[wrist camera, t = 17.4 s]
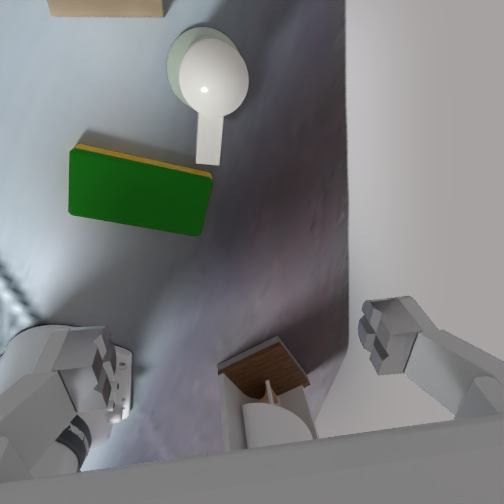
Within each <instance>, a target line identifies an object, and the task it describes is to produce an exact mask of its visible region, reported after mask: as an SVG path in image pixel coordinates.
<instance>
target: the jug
mask: <svg viewBox="0 0 504 504" xmlns="http://www.w3.org/2000/svg"><path fill="white" fill-rule="evenodd" d="M179 83H180V88H181V91H182V94H183V96H184V98H185V100H186V101H187V103H188V104H189V105H190V106H191V107H192V108H193V109H194V110H195V111H197V112H198V117H197V135H196V163H197V164H208V165H219V162H220V151H221V141H222V130H223V119H224V116H225V115H228V114H230V113H232V112H233V111H235V110H236V109H237V108H238V107H239V106H240V105H241V103H242V102H243V100H244V99H245V96H246V94H247V91H248V85H249V76H248V70H247V67H246V64H245V62H244V60H243V58H242V57H241V55H240V54H239V53H238V52H237V51H236V50H235V49H234V48H233V47H231V46H230V45H228V44H226V43H225V42H223V41H221V40H219V39H217V38H213V37H204V38H200V39H198V40H196V41H194V42H193V43H192V44H191V45H190V46H189V47H188V48H187V50H186V52H185V54H184V56H183V60H182V63H181V67H180V72H179Z"/></svg>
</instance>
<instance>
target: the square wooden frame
mask: <svg viewBox="0 0 504 504" xmlns="http://www.w3.org/2000/svg"><path fill="white" fill-rule="evenodd" d="M47 1H48V5H49V9H50V13H51V16H55V17H164V8H163V0H47Z"/></svg>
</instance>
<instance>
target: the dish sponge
mask: <svg viewBox="0 0 504 504" xmlns="http://www.w3.org/2000/svg"><path fill="white" fill-rule="evenodd" d="M212 183H213V181H212V175H211V174H210V172H206V171H201V170H197V169H192V168H188V167H183V166H179V165H174V164H170V163H165V162H161V161H156V160H152V159H147V158H142V157H138V156H133V155H129V154H124V153H120V152H115V151H111V150H106V149H102V148H97V147H93V146H88V145H84V144H77V145H76V146H75V147H74V148H73V149H72V150H71V151H70V162H69V207H68V212H69V213H70V214H71V215H74V216H80V217H86V218H92V219H98V220H104V221H109V222H115V223H121V224H127V225H133V226H139V227H145V228H150V229H156V230H162V231H168V232H174V233H180V234H185V235H191V236H199V235H200V234H201V230H202V226H203V221H204V217H205V213H206V209H207V204H208V200H209V196H210V192H211V187H212Z"/></svg>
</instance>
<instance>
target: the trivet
mask: <svg viewBox="0 0 504 504" xmlns="http://www.w3.org/2000/svg"><path fill="white" fill-rule="evenodd" d="M204 37H213V38H217V39H219V40H221V41H223V42H225V43H226V44H228V45H230V46H231V47H233V48H234V49H235V50H236V51H237V52H238V50H237V48H236V46H235V45H234V43H233V42H232V41H231V40H230V39H229V38H228V37H227V36H226V35H225V34H223V33H222V32H220V31H218V30H215V29H213V28H209V27H196V28H192V29H190V30H187V31H186V32H184V33H183V34H181V35H180V36H179V37H178V38H177V39H176V40H175V42H174V43H173V45H172V47H171V49H170V51H169V54H168V58H167V75H168V80H169V83H170V85H171V88H172V90H173V91H174V93H175V94H176V96H177V97H178V98H179V99H180V100H181V101H182V102H183V103H184V104H186V105H187V106H189V107H191V106H190V105H189V104H188V103H187V101H186V100H185V98H184V96H183V94H182V91H181V88H180V83H179V72H180V67H181V63H182V60H183V56H184V54H185V52H186V50H187V48H188V47H189V46H190V45H191V44H192V43H193V42H194V41H196V40H198V39H200V38H204ZM238 53H239V52H238ZM191 108H192V107H191Z"/></svg>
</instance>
